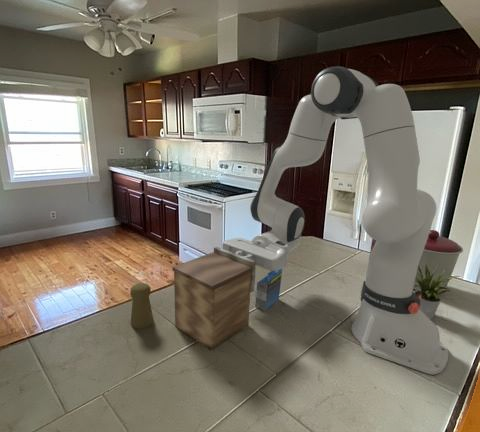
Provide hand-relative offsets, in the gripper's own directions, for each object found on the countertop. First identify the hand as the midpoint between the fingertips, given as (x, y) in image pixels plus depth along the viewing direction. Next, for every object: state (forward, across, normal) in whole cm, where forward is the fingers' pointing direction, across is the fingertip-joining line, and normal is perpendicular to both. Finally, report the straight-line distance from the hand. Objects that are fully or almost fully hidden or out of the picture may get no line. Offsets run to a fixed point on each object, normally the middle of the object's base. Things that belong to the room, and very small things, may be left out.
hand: (235, 260), depth 87 cm
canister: (-60, +37, +17) cm, 72 cm away
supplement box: (-64, +20, +17) cm, 70 cm away
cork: (+20, -15, +17) cm, 30 cm away
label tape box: (-12, +4, +17) cm, 21 cm away
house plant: (-40, +40, +17) cm, 59 cm away
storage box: (+8, 0, +16) cm, 19 cm away
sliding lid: (+8, 0, +6) cm, 10 cm away
